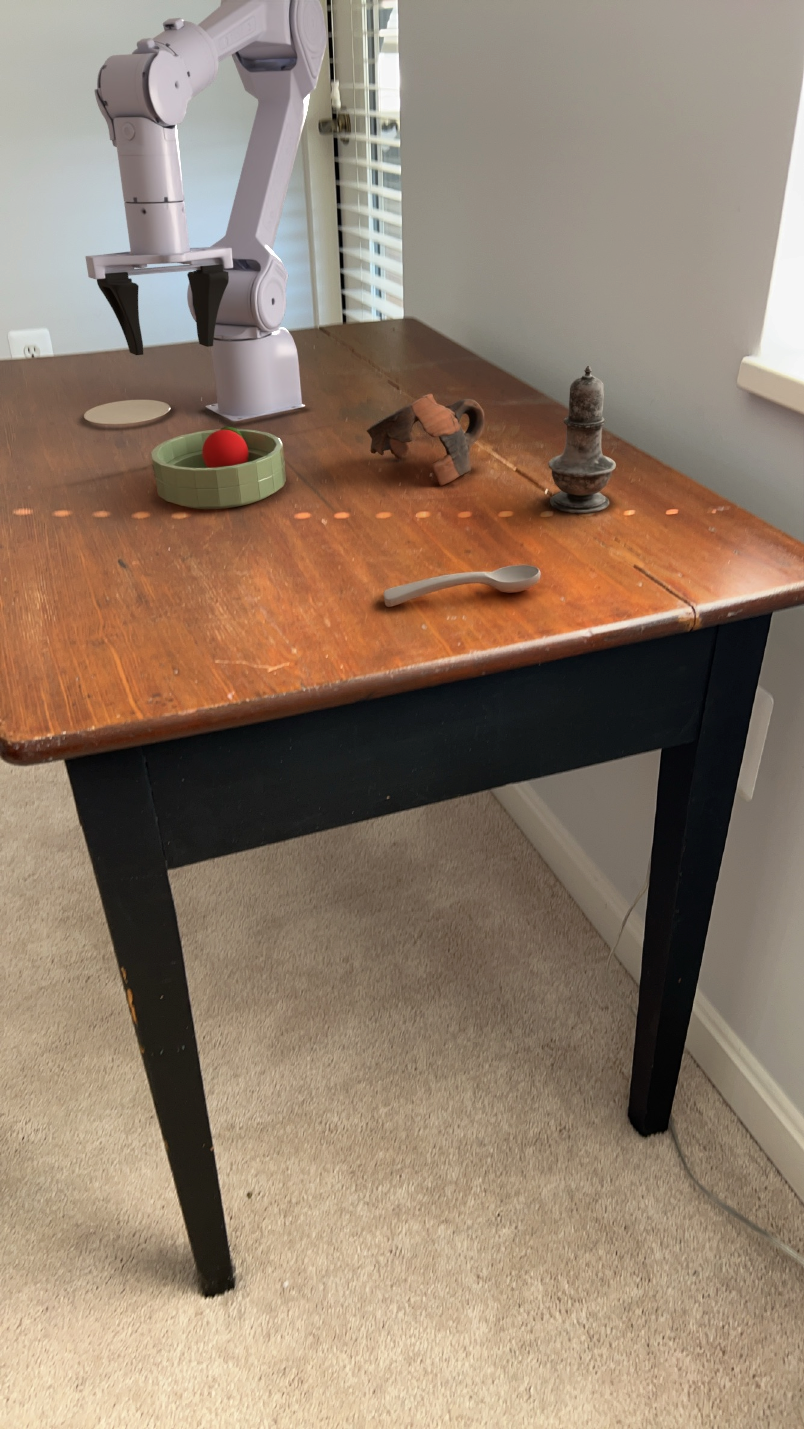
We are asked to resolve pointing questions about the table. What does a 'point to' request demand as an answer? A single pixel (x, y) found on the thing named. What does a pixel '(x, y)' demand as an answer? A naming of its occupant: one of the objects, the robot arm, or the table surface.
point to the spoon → (467, 582)
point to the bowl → (218, 472)
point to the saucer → (126, 412)
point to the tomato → (225, 448)
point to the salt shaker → (582, 451)
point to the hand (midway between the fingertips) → (172, 349)
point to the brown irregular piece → (432, 433)
